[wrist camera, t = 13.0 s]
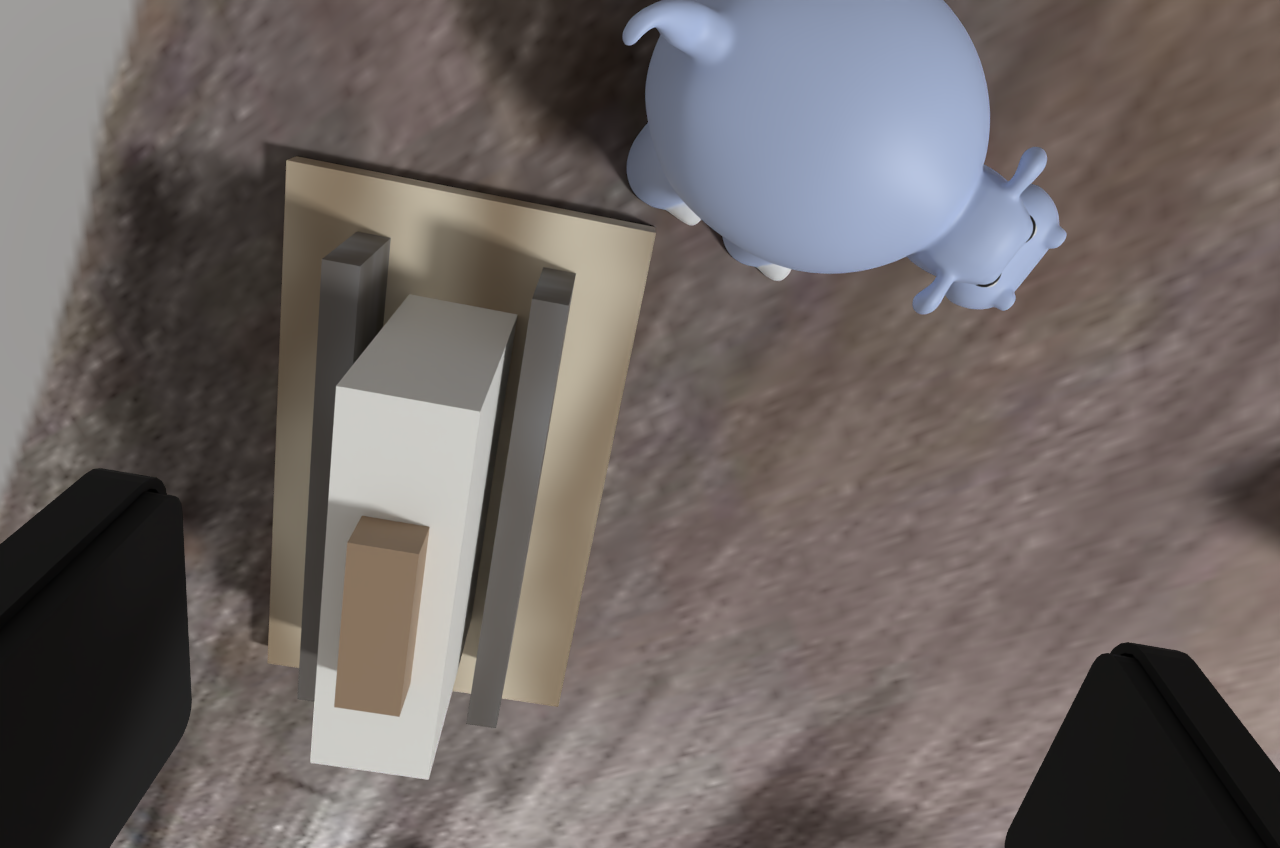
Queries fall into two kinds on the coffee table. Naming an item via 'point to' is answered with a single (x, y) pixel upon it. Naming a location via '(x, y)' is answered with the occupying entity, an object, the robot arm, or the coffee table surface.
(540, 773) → the coffee table surface
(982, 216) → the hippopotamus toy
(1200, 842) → the robot arm
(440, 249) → the groove stand
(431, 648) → the cabinet block
